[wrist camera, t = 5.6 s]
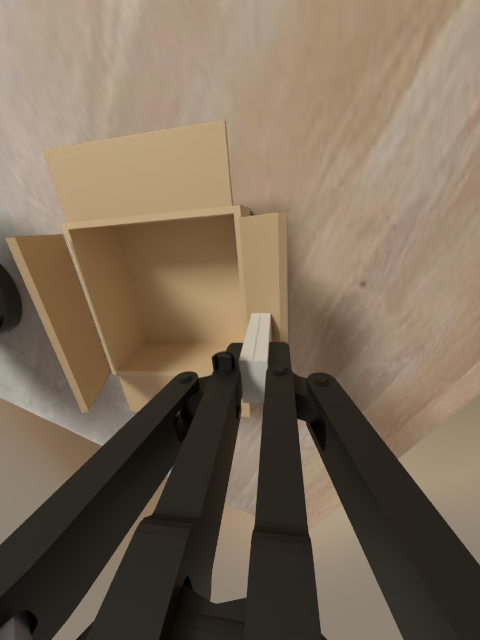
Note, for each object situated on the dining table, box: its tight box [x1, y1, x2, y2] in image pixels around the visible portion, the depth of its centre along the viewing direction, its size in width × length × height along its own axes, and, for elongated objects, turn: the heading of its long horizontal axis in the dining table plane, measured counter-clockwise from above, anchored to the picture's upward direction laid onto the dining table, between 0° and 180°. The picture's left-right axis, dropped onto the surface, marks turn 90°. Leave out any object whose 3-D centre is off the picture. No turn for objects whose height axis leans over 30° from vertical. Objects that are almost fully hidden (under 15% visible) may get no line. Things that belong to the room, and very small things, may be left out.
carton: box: [42, 119, 251, 418], centre depth 29 cm, size 18×30×8 cm, turn 5°
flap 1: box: [5, 234, 111, 413], centre depth 23 cm, size 1×16×7 cm, turn 5°
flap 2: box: [239, 211, 288, 344], centre depth 20 cm, size 1×16×7 cm, turn 5°
